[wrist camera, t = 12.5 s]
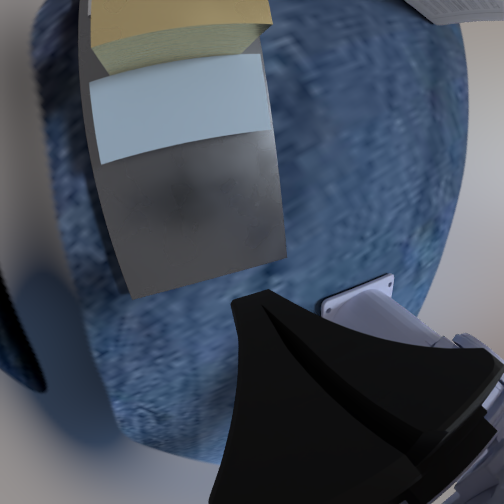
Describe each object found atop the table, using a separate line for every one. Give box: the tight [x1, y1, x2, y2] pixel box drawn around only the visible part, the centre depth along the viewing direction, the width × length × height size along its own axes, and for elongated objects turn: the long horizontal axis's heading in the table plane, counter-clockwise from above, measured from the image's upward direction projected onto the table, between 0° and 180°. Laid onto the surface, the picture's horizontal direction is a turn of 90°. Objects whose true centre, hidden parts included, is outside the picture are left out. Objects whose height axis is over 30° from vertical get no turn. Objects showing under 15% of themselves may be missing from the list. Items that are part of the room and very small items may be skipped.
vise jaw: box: [89, 54, 271, 165], centre depth 11 cm, size 4×8×2 cm, turn 100°
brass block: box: [91, 0, 273, 76], centre depth 8 cm, size 4×6×6 cm, turn 99°
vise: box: [78, 0, 287, 300], centre depth 12 cm, size 20×10×3 cm, turn 9°
